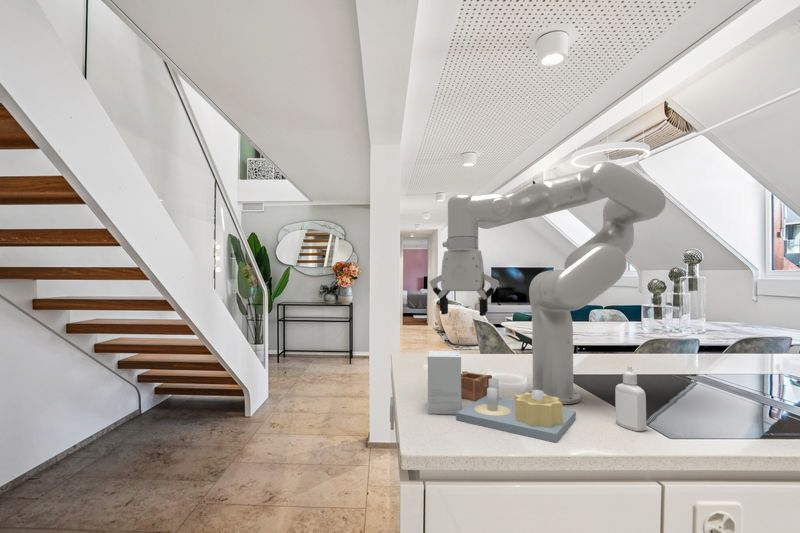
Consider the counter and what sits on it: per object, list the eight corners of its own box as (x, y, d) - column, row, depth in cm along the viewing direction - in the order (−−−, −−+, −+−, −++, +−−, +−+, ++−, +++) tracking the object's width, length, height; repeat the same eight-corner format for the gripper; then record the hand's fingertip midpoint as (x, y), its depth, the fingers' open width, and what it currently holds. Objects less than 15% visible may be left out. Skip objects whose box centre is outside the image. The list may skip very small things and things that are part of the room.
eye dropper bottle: (624, 431, 77) (623, 368, 78) (613, 421, 83) (612, 363, 83) (648, 432, 77) (647, 369, 77) (636, 422, 82) (635, 363, 83)
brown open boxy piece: (463, 389, 107) (463, 370, 107) (493, 395, 102) (493, 375, 102) (448, 397, 100) (448, 376, 100) (479, 403, 95) (479, 381, 95)
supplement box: (460, 405, 93) (460, 350, 94) (461, 415, 86) (461, 356, 87) (428, 403, 94) (428, 349, 95) (427, 414, 87) (427, 355, 87)
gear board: (486, 401, 96) (486, 372, 96) (575, 418, 85) (575, 384, 85) (456, 420, 83) (456, 385, 83) (556, 442, 72) (556, 403, 72)
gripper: (424, 245, 100) (425, 314, 99) (494, 242, 92) (495, 317, 92) (435, 248, 107) (435, 312, 106) (501, 245, 99) (501, 315, 98)
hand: (463, 314), depth 99 cm, fingers open, 9 cm apart
